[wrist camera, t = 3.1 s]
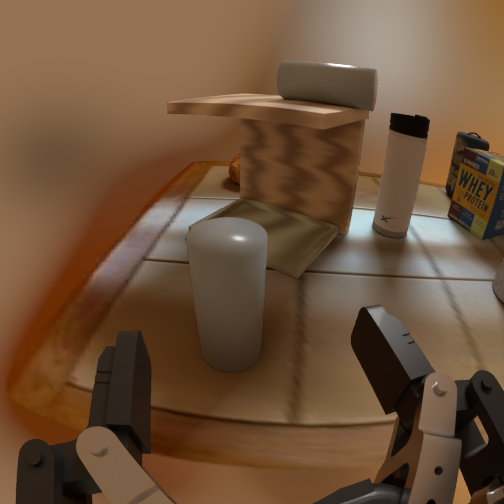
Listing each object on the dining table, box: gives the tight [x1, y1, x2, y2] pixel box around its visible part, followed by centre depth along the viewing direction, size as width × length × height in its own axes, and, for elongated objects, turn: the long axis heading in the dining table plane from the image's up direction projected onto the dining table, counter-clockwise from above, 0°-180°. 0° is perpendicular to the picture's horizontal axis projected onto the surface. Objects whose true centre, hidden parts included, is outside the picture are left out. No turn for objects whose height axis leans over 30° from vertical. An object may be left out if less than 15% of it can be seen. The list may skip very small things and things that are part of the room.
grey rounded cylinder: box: [186, 217, 268, 372], centre depth 24 cm, size 6×6×12 cm
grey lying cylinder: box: [277, 61, 378, 111], centre depth 34 cm, size 6×6×12 cm
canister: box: [446, 132, 489, 196], centre depth 60 cm, size 10×10×18 cm
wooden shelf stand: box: [167, 94, 369, 279], centre depth 41 cm, size 21×17×20 cm
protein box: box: [448, 147, 504, 240], centre depth 48 cm, size 10×15×16 cm
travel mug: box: [372, 113, 430, 238], centre depth 43 cm, size 6×7×20 cm
